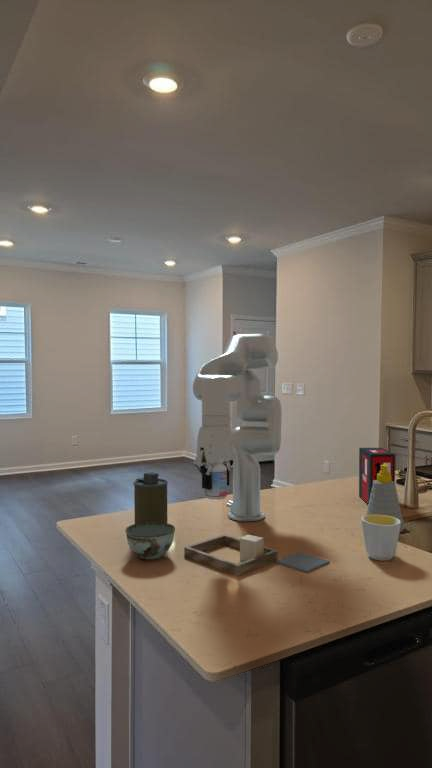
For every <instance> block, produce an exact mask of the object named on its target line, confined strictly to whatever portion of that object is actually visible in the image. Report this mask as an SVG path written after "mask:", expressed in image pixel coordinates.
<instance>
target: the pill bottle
mask: <svg viewBox="0 0 432 768" xmlns="http://www.w3.org/2000/svg"><path fill="white" fill-rule="evenodd" d="M223 463H224V460H223V458H220V459H219V461H218V463H216V464H212V468H211V471H210V474H209V475H211V476H212V489H211V490H208V489H204V497H205V498H206V499H208V500H218V501H219V500H224V499H226V498H227V497H228V486H227V468H226V466H225V465H223ZM224 464H225V463H224ZM206 469H207V465H206Z"/></svg>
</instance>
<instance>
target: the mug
mask: <svg viewBox="0 0 432 768" xmlns="http://www.w3.org/2000/svg"><path fill="white" fill-rule="evenodd" d="M361 525H362V532H363V533H362V534H363V539H364V540H363V541H364V547H365V552H366V554H367V555H368V556H369V558H370V559H373V560H375V561H380V562H385V561H387V562H388V561H390V560H391V559H392V558H394V557H395V556H396V554H397V547H398V541H399V537H400V532H399V531H400V525H401V521H400V520H399V519H397V518H395V517H391V516H386V515H367V514H366V515H363V516H362V517H361Z"/></svg>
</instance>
